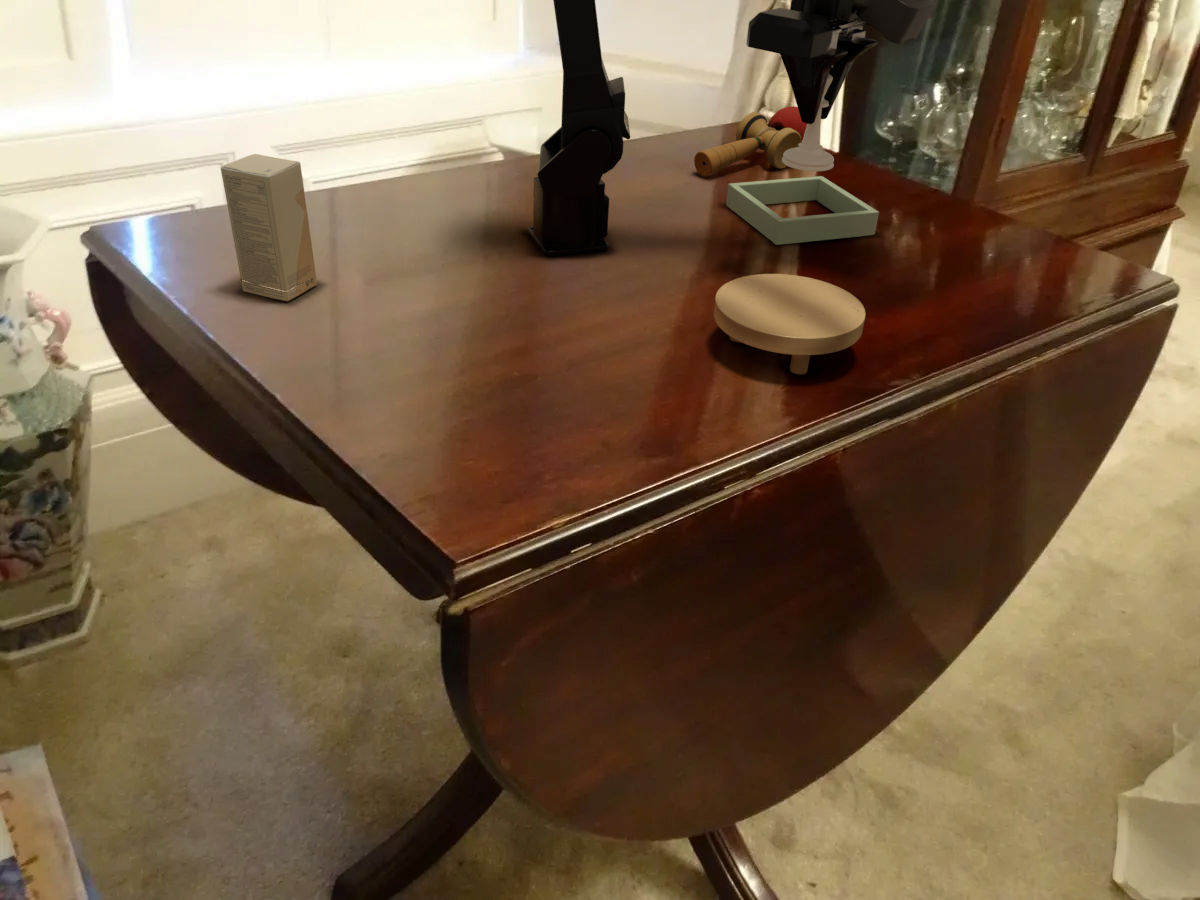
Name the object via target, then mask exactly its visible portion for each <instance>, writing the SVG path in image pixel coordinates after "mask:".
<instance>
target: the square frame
mask: <svg viewBox="0 0 1200 900" xmlns="http://www.w3.org/2000/svg"><path fill="white" fill-rule="evenodd" d="M726 194H727V195H726V202H725V203H726V204H725V206H726V207H727V208H728V209H730V210H731V211H732V212H734V213H735V214H736V215H737V216H739V217H740V218H741V219H743V220H744V221H745V222H747V223H748V224H749V225H750V226H751V227H753V228H754V229H755V230H756V231H758V232H759V233H761V234H762V235H764V237H765V238H767V239H768V240H770V242H772V243H773V244H774V245H776V246H780V245H790V244H799V243H808V242H810V243H811V242H819V241H829V240H837V239H848V238H856V237H857V238H858V237H868V236H875V234H876V230H877V226H878V225H877V224H878V220H879V214H880V211H878V210H876V209H875V208H874V207H872V206H870V205H868V204H867V203H865V202H864V201H863V200H861V199H860V198H858V197H856V196H854V195H853V194H851V193H850V192H848V191H847V190H845V189H844V188H842V187H840V186H838V185H837V184H836V183H834V182H832V181H830V180H829V179H827V178H826V177H824V176H823V175H817V176H816V175H815V176H805V177H804V176H803V177H795V178H794V177H793V178H781V179H770V180H769V179H768V180H757V181H745V182H731V183H728V185H727V193H726ZM810 201H816V202H818V203H819V204H820V205H822V206H824V207H826V209H828V210H830V211H831V212H832V213H824V214H812V215H803V216H802V215H801V216H792V217H791V216H790V217H781V216H780V215H779V214H777V213H776V212H775V211H774V210H772V209H771V208H769V207H768V206H767V205H777V204H778V205H779V204H788V203H789V204H790V203H798V202H799V203H800V202H801V203H802V202H810Z"/></svg>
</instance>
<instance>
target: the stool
mask: <svg viewBox="0 0 1200 900" xmlns="http://www.w3.org/2000/svg"><path fill="white" fill-rule="evenodd" d="M714 297H715V298H714V306H713V319H714V322H715V324H716V325H717V326H718V328H719V329H720V330H722V331H723V333H725V334H726V335H727V336H729V339H730V341H731V342H734V343H739V344H740V343H742V344H744V345H747V346H750V347H752V348H756V349H759V350H762V351H766V352H770V353H776V354H782V355H791V358H790V363H789V371H790V372H791V373H792V374H795V375H805V374H807V373H808V370H809V364H810V359H811V356H818V355H827V354H832V353H837V352H840V351H842V350H845V349H848V348H849V347H852V346H854V345H855V344H856V343H857V342H858V341H859V340H860V339H861V337H862V334H863V330H864V326H865V321H866V316H867V314H866V309H865V307H864V304H863V303H862V302H861V301H860V300H859V299H858V298H857V297H856V296H855V295H853V294H852V293H851V292H849V291H848V290H845V289H843V288H842V287H839V286H837V285H835V284H832V283H829V282H827V281H823V280H820V279H816V278H812V277H808V276H804V275H803V276H801V275H795V274H787V273H761V274H751V275H745V276H741V277H737V278H734V279H732V280H729V281H728V282H726V283H724V284H722V286H720V287H719V289H718V290H717V291H716V293H715V296H714Z"/></svg>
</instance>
